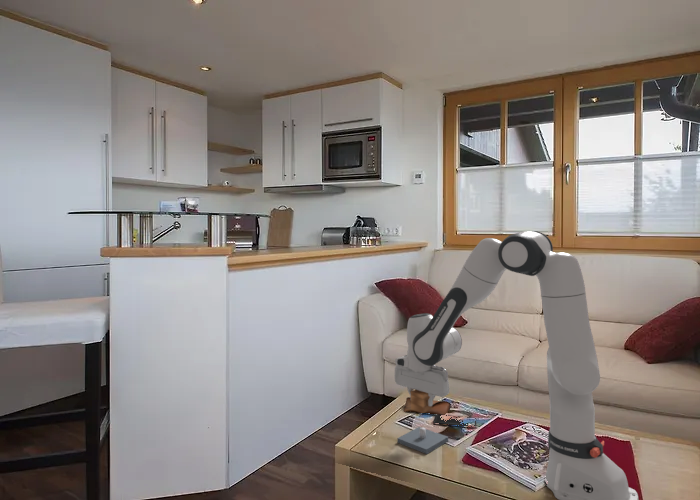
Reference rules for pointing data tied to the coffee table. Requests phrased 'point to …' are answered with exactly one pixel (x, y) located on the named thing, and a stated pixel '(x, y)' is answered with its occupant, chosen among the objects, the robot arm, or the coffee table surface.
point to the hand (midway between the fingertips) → (421, 403)
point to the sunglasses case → (437, 407)
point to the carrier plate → (422, 440)
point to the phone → (449, 421)
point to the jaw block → (419, 401)
